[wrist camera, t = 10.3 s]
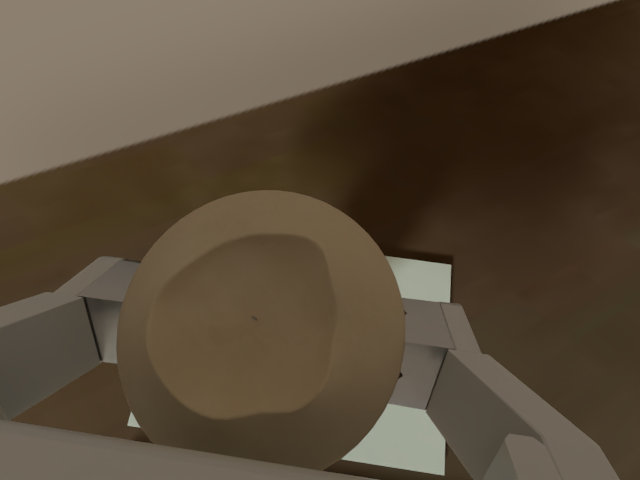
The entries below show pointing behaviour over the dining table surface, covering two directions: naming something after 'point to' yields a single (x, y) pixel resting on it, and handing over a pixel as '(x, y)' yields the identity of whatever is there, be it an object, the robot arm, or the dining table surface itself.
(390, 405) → the sage mat
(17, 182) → the dining table surface
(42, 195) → the dining table surface
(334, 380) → the candle
